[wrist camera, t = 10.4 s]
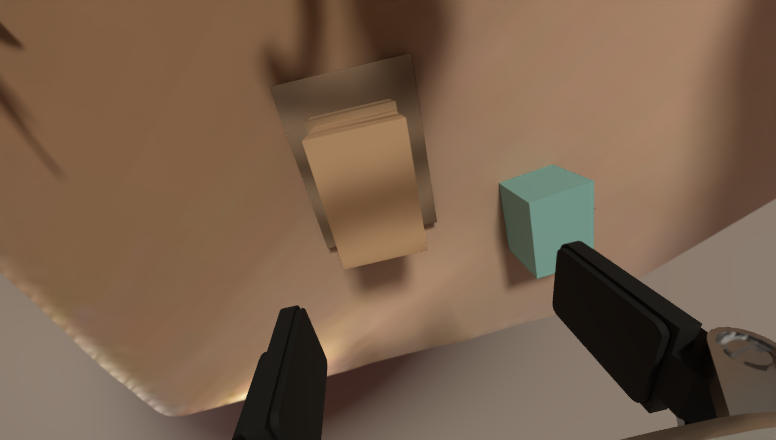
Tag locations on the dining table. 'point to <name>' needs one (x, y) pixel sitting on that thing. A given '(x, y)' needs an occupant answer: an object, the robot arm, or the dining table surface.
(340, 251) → the tan block
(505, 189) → the teal brick
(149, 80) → the dining table surface
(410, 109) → the pedestal board
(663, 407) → the robot arm
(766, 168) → the dining table surface
